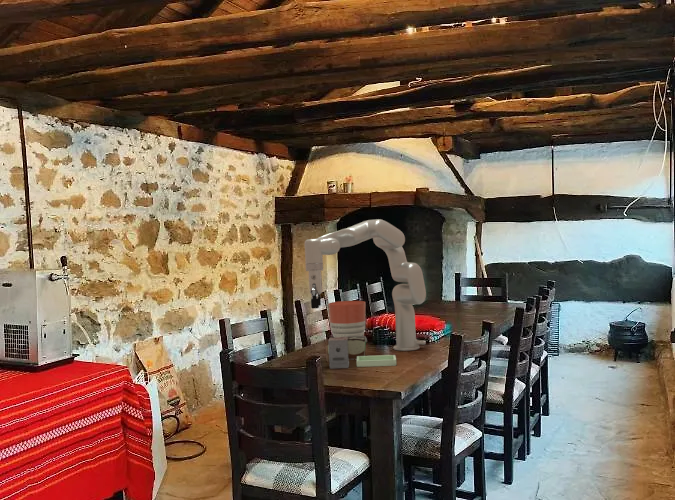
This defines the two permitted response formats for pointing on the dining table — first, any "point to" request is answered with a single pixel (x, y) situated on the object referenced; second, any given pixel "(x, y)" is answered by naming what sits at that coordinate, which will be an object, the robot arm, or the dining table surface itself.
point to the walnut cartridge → (327, 354)
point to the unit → (338, 352)
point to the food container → (356, 346)
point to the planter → (347, 318)
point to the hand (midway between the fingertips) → (316, 306)
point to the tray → (376, 360)
